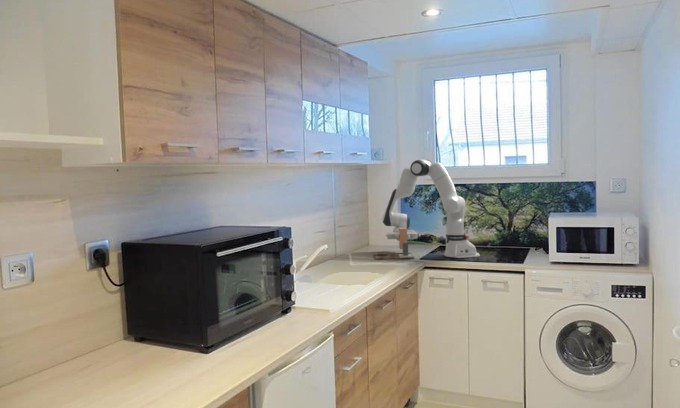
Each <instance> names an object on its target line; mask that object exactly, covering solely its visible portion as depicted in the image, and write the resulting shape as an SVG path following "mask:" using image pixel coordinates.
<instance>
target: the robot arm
mask: <svg viewBox="0 0 680 408" xmlns="http://www.w3.org/2000/svg"><path fill="white" fill-rule="evenodd" d="M425 176H429V177H430V178H431V180H432V182H433V184H434V187H435V188H436V190H437V192H438V193H439V197H440V200H441V204H442V205H443V206H442V207H443V210H444V211H445V213H447V219H446V222H445V225H446V228H445V230H446V234H445V251H444V256H445V257H448V258H456V259H461V258H463V259H465V258H479V257H480V256H481V255H480V253H479V252H477V248H476V246H475V245H474V244H473V243H471V242H470V241H469V240H468V239H469V238H470V237H469V235H467V234H465V226H464V223H465V213H466V201H465V198H464V197H462V196H460V195H458V194H457V191H456V187H455V184H454V182H453V180H452V178H451V177H450V175H449V172H448V171H447V169H446V168H445V166H444V165H443V164H442V163H441V162H438V161H437V162H432V161H430V160H429V159H424V158H423V159H417V160H414V161H413V162H412V163H411V164H410V166H409V167H404V169H402V172H401V175H400V177H399V178H400V179H399V184H398V186H397V187H396V188H395V189H394V190H392V192H391V196H390V197H389V200H388V202H387V207H386V208H385V212H384V213H383V215H382V224H384V226H386V227H393V230H392V232H387V233H386V234H385V236H386V239H387V240H397V241H398V242H399V239H400V236H399V228H407V241H409V240H410V241H411V240H416V239H418V237H419V236H418V235H419V234H418V233H417V231H415V230H414V229H410V225H411V223H410V222H411V219H410V218H411V217H409V215H408V214H407V213H401V212H393V209H394V206H395V203H396V201H398V200H400V199H402V198H408V197H410V196H412V195H413V194H414V193H415V190H416V186H417V185H416V184H417V180H418V178H419V177H425Z"/></svg>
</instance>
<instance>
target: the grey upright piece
mask: <svg viewBox="0 0 680 408" xmlns="http://www.w3.org/2000/svg"><path fill="white" fill-rule="evenodd" d="M402 253H403V254H399V257H400V258H406V257H414V255H413V254H412V253H411V254H412V255H413V256H412V255H411V254H408V253H409V242H408V241H407V242H403V249H402Z"/></svg>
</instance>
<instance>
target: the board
mask: <svg viewBox="0 0 680 408" xmlns="http://www.w3.org/2000/svg"><path fill="white" fill-rule="evenodd" d="M399 254H403V252H383V253H382V252H381V253H379V252H378V253H373V256H374V258H375V261H385V260H386V261H387V260H388V261H389V260H390V261H391V260H415V257H414V255H413V254H412V253H411V252H409V251H408V254H411V255H412V256H413V257H406V258H400V257H399Z"/></svg>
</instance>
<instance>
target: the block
mask: <svg viewBox="0 0 680 408" xmlns="http://www.w3.org/2000/svg"><path fill="white" fill-rule="evenodd" d="M399 236H400V239H399V241H398V242H399V244H398V245H399V249H400V250H403V242H408V240H407V228H399Z"/></svg>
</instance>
